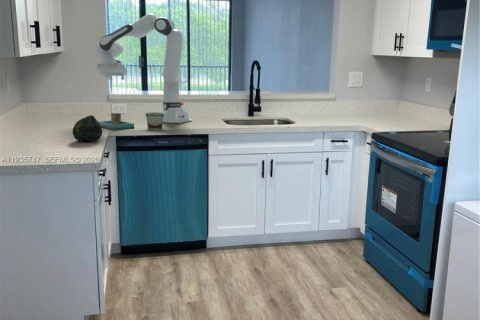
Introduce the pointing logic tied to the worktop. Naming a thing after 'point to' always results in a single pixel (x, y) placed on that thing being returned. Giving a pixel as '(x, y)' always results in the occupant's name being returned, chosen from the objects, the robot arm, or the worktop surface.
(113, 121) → the walnut block
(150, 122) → the food container
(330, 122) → the worktop surface
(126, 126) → the tray
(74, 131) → the squash
